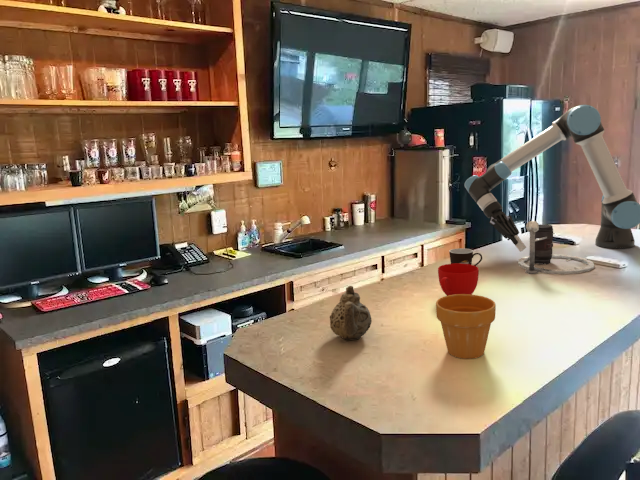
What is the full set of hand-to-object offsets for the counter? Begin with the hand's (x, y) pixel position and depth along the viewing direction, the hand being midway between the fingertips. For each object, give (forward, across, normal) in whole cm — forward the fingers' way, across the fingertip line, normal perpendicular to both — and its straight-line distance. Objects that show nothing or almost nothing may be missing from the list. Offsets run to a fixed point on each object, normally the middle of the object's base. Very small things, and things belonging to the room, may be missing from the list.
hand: (523, 249), depth 218 cm
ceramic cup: (+14, +59, +8) cm, 61 cm away
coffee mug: (+4, +37, -3) cm, 37 cm away
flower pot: (+35, +90, +29) cm, 101 cm away
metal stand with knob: (+13, +12, +7) cm, 19 cm away
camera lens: (+9, 0, +3) cm, 9 cm away
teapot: (+16, +105, +10) cm, 107 cm away
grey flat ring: (+13, 0, +7) cm, 15 cm away
